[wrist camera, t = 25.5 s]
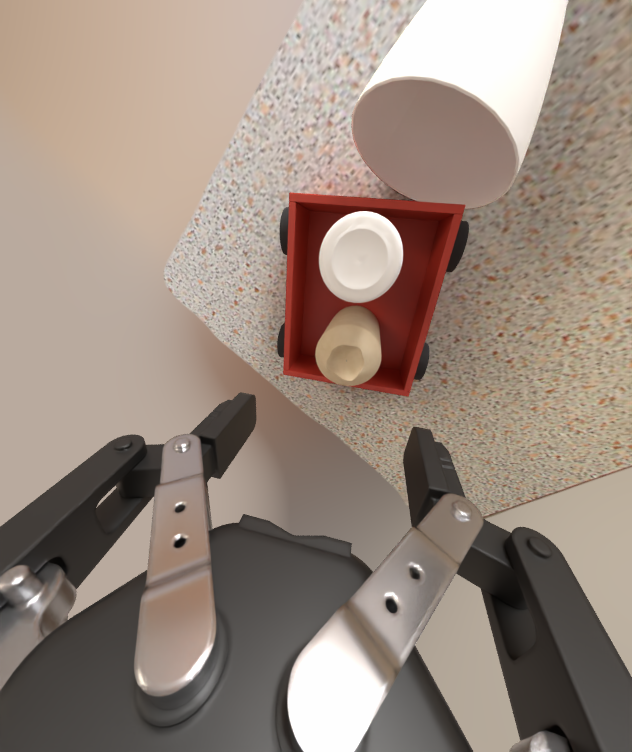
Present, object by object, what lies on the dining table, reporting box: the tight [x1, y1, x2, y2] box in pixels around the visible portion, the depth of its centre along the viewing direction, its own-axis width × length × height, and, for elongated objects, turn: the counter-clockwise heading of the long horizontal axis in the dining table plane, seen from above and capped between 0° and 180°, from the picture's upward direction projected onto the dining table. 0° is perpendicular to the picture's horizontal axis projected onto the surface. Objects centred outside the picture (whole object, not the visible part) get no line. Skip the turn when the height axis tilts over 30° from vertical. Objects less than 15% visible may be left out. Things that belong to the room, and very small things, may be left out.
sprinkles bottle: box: [319, 211, 403, 303], centre depth 19 cm, size 5×5×14 cm
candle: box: [315, 306, 381, 386], centre depth 24 cm, size 6×6×10 cm
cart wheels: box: [277, 207, 469, 380], centre depth 26 cm, size 15×16×4 cm
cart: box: [283, 193, 465, 396], centre depth 25 cm, size 16×13×6 cm
